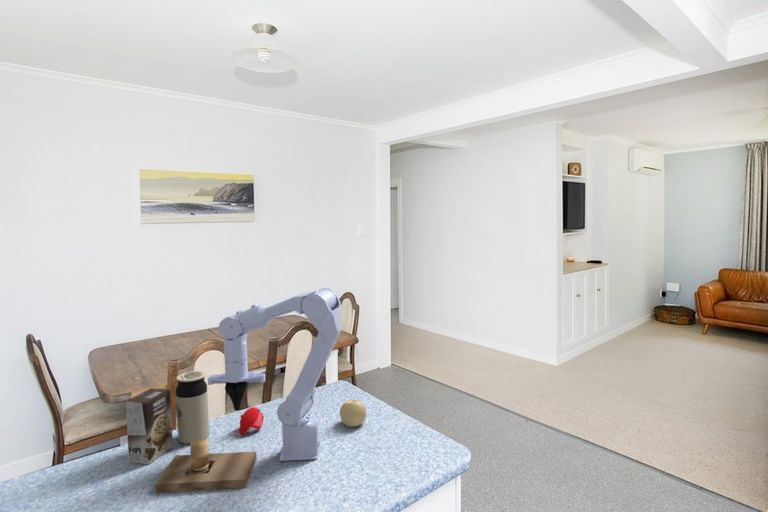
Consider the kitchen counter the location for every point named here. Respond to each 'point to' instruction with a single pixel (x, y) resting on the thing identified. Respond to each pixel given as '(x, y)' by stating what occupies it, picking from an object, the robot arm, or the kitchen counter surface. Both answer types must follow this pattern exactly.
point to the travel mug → (192, 407)
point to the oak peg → (199, 456)
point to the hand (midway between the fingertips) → (238, 408)
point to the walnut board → (222, 475)
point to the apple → (353, 413)
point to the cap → (250, 420)
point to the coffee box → (149, 425)
